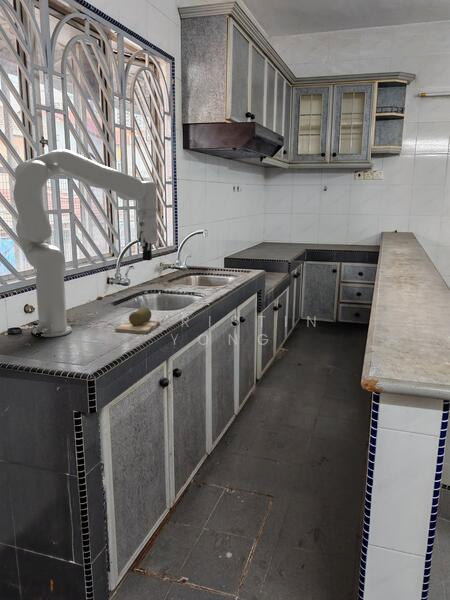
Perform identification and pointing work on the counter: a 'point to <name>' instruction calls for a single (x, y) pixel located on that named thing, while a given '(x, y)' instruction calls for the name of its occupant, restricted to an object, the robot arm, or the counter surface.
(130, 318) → the olive pepper shaker
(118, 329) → the cutting board
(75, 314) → the counter surface
